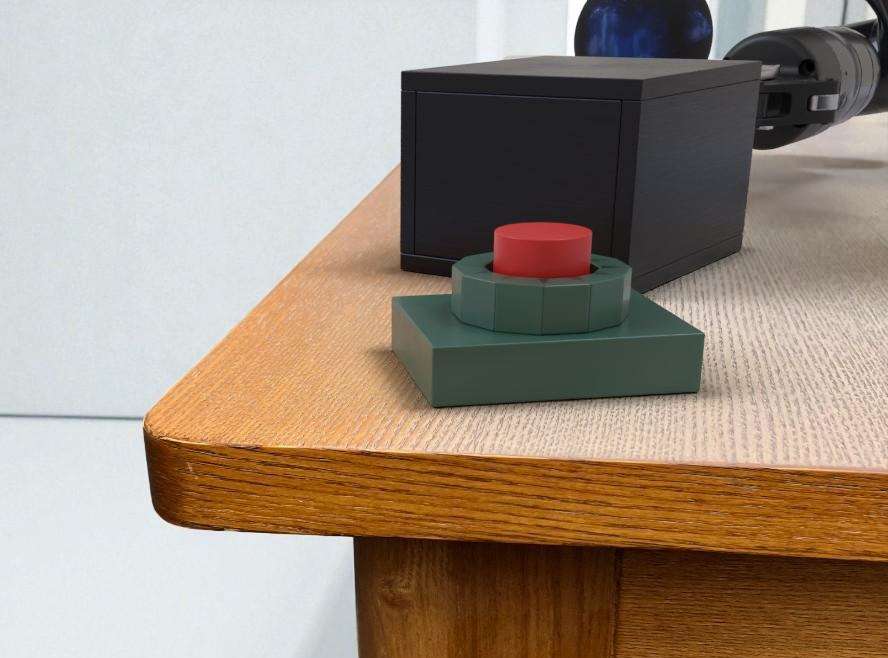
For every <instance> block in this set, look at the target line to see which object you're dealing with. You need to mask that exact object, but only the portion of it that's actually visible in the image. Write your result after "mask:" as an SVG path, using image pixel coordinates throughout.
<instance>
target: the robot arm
mask: <svg viewBox="0 0 888 658" xmlns="http://www.w3.org/2000/svg"><path fill="white" fill-rule="evenodd" d="M864 2H866V3H867V4H868V6H869V7H870V8H871V10H872V11H873V13H874V14H875V16H876V18H871V19H866V20H862V21H861V20H860V21H855V22H851V23H846V24H840V25H831V26H828V25H827V26H821V27H820V26H819V27H816V26H808V25H807V26H806V25H805V26H804V25H803V26H794V27H785V28H779V29H773V30H766V31H761V32H756V33H753V34H750V35H748V36H747V37H744V38H743V39H741V40H740V41H738V42H737V43H735V45H733V46H732V47H731V48H730V49H729V50H728V51H727V53H725V55H724V56H723V58H722V59H721V60H745V61H762V70H761V78H760V87H759V96H758V106H757V115H756V124H755V133H754V142H753V150H755V151H756V150H757V151H771V150H775V149H780V148H782V147H786V146H788V145H789V146H790V145H792V144H795V143H797V142H801V141H804V140H807V139H810V138H813V137H815V136H817V135H819V134H822V133H824V132H825V131H827V130H828V129H830V128H832V127H836V126H838V125H841V124H843V123H845V122H847V121H849V120H851V119H852V118H856V117H862V116H871V115H877V114H884V113H885V114H886V113H888V0H864Z"/></svg>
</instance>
